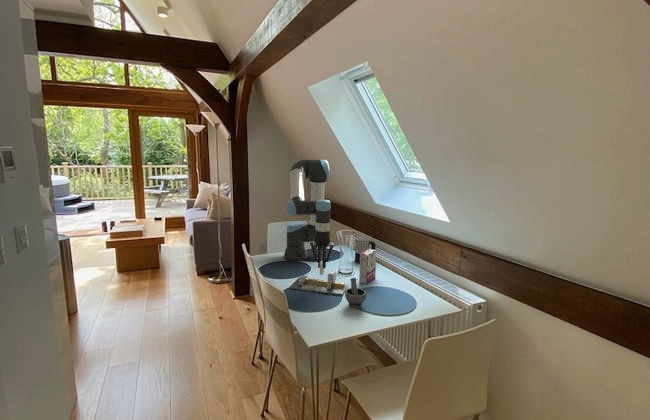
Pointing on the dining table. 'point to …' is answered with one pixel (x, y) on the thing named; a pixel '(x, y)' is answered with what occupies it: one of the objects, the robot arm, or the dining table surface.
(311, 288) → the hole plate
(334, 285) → the beam
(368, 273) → the candy bar box
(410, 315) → the dining table surface
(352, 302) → the mortar and pestle
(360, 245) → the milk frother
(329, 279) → the block
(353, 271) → the dining table surface
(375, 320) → the dining table surface
